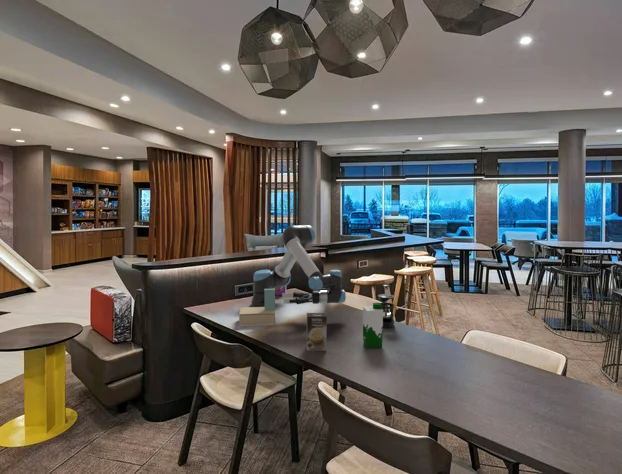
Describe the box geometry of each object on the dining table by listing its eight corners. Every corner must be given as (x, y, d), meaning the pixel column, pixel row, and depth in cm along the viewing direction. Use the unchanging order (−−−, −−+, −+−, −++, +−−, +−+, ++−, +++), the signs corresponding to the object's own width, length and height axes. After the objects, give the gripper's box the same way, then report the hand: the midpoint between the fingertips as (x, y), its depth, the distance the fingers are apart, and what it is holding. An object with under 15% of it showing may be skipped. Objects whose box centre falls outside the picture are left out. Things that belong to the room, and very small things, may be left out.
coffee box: (306, 351, 166) (306, 316, 165) (306, 346, 172) (306, 312, 171) (326, 351, 166) (326, 316, 165) (325, 345, 172) (325, 312, 171)
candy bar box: (271, 295, 278) (270, 274, 277) (272, 293, 283) (272, 272, 282) (285, 295, 277) (285, 274, 276) (286, 294, 282) (286, 273, 281)
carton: (274, 317, 219) (274, 307, 218) (275, 324, 205) (275, 314, 205) (241, 318, 216) (240, 308, 216) (239, 326, 203) (239, 315, 202)
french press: (399, 326, 201) (399, 285, 200) (387, 329, 196) (388, 287, 194) (382, 321, 211) (383, 282, 209) (371, 324, 205) (371, 284, 203)
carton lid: (274, 307, 218) (274, 286, 218) (275, 313, 205) (275, 291, 204) (240, 308, 216) (240, 287, 215) (239, 315, 202) (238, 292, 201)
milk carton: (384, 348, 169) (385, 306, 167) (365, 349, 168) (365, 306, 167) (379, 341, 177) (379, 301, 176) (361, 342, 177) (361, 301, 175)
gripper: (322, 309, 202) (283, 310, 199) (316, 298, 226) (281, 299, 224) (322, 295, 201) (283, 296, 199) (316, 286, 226) (281, 287, 223)
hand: (282, 298), depth 211 cm, fingers open, 13 cm apart
